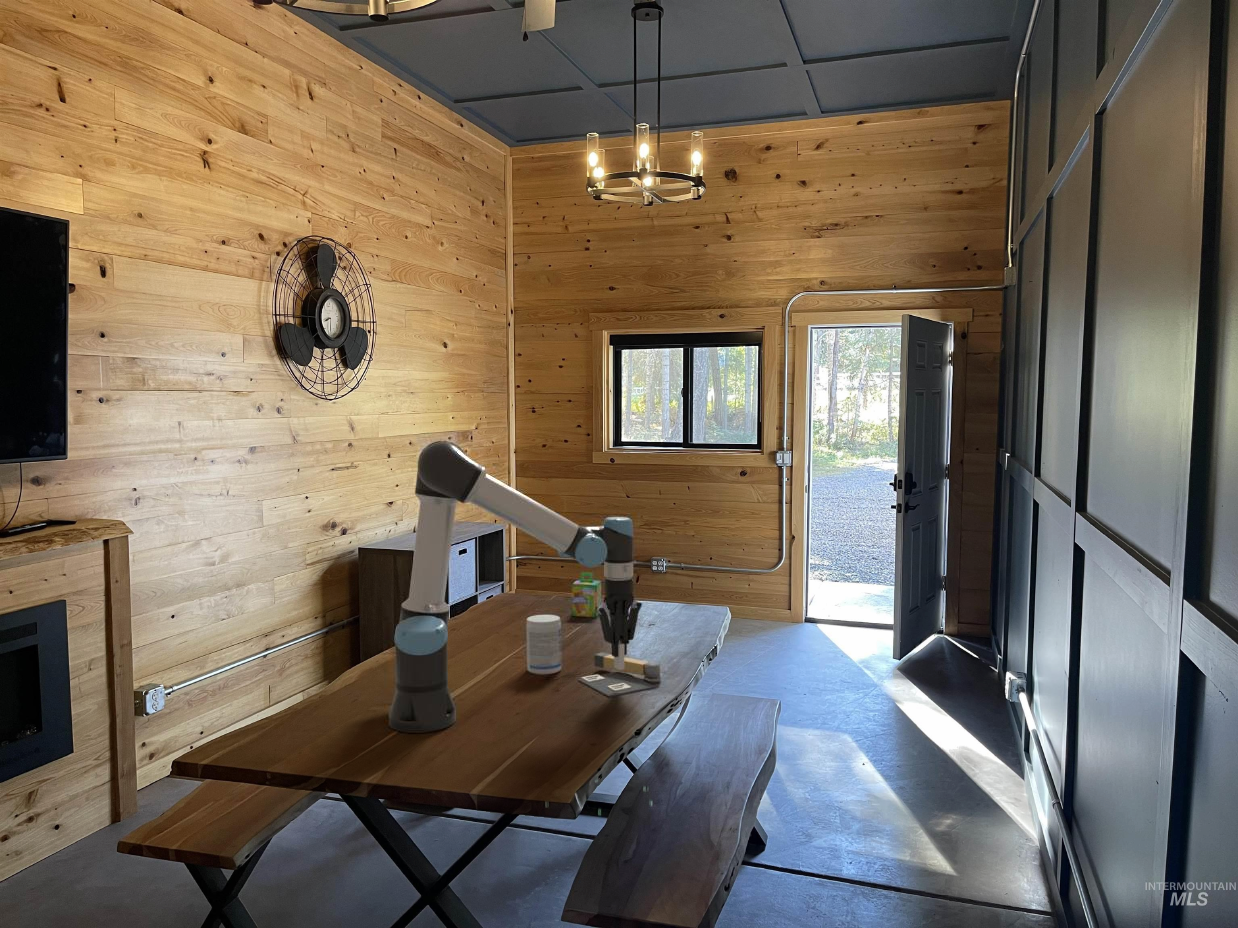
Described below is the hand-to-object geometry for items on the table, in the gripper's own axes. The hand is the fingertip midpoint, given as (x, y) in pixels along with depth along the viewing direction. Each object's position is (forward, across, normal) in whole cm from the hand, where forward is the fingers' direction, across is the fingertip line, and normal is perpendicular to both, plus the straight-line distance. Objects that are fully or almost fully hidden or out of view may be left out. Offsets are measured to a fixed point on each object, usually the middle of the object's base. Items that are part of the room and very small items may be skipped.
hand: (619, 668), depth 224 cm
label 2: (+6, 0, 0) cm, 6 cm away
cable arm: (+4, +8, +8) cm, 12 cm away
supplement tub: (+6, -9, +25) cm, 27 cm away
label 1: (+6, -2, +10) cm, 12 cm away
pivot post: (+6, +11, +1) cm, 12 cm away
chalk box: (+6, +34, +77) cm, 84 cm away
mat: (+6, +2, +4) cm, 7 cm away
